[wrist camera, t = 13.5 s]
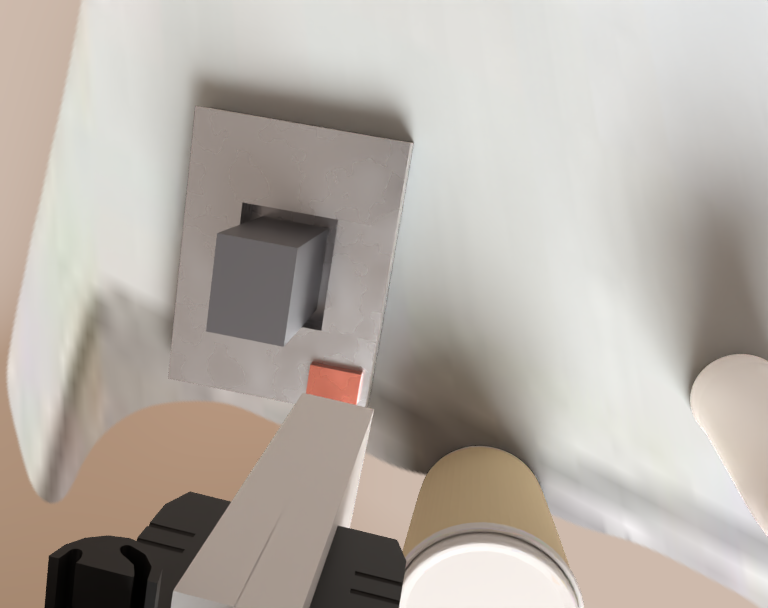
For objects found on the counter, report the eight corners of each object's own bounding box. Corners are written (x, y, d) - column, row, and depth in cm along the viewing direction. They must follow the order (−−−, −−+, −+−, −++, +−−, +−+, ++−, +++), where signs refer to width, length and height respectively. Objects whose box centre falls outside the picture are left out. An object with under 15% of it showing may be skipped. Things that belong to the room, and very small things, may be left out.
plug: (262, 216, 43) (216, 233, 35) (328, 228, 42) (297, 248, 35) (252, 297, 44) (205, 331, 36) (316, 309, 43) (283, 346, 36)
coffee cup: (378, 513, 46) (348, 638, 35) (463, 403, 44) (462, 497, 33) (496, 594, 47) (505, 744, 35) (587, 489, 44) (629, 613, 33)
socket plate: (210, 107, 42) (191, 105, 39) (413, 143, 41) (409, 143, 38) (183, 366, 46) (164, 381, 43) (368, 403, 45) (362, 421, 42)
